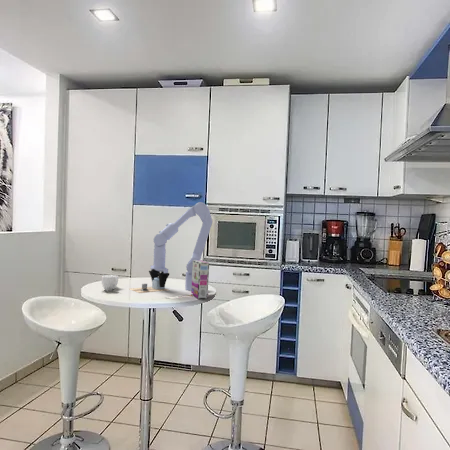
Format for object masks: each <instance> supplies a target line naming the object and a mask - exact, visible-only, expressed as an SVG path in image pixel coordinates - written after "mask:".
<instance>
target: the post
mask: <svg viewBox="0 0 450 450" xmlns="http://www.w3.org/2000/svg"><path fill="white" fill-rule="evenodd" d="M147 287H148V283H142V284H141V288H142V289H141V291H148V289H147Z"/></svg>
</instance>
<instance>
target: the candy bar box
mask: <svg viewBox="0 0 450 450" xmlns="http://www.w3.org/2000/svg"><path fill="white" fill-rule="evenodd" d="M209 271H210V262H207V261H205V260H201V259H200V260H193V267H192V289H191V291H190V292H191V295H192V296H193V297H194V298H196V299H198V300H207V299H208V298H209V296H208V294H209V293H208V292H209V274H210V272H209Z"/></svg>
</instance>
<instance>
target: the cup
mask: <svg viewBox="0 0 450 450" xmlns="http://www.w3.org/2000/svg"><path fill="white" fill-rule="evenodd" d="M118 284H119V275H118V274H117V275H116V274H105V275H101V285H102V287H103V290H104V291H106V292H107V291H109V292H111V291H115V289H116V288H117V286H118Z"/></svg>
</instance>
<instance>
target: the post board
mask: <svg viewBox="0 0 450 450" xmlns="http://www.w3.org/2000/svg"><path fill="white" fill-rule="evenodd" d="M141 289H142V287H133V288H129V290H130V291H133V292H136V293H138V294H145V293H155V292H167V291H169V289H167V288H165V289H154V288H152V286H147V289H148V291H141Z"/></svg>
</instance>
